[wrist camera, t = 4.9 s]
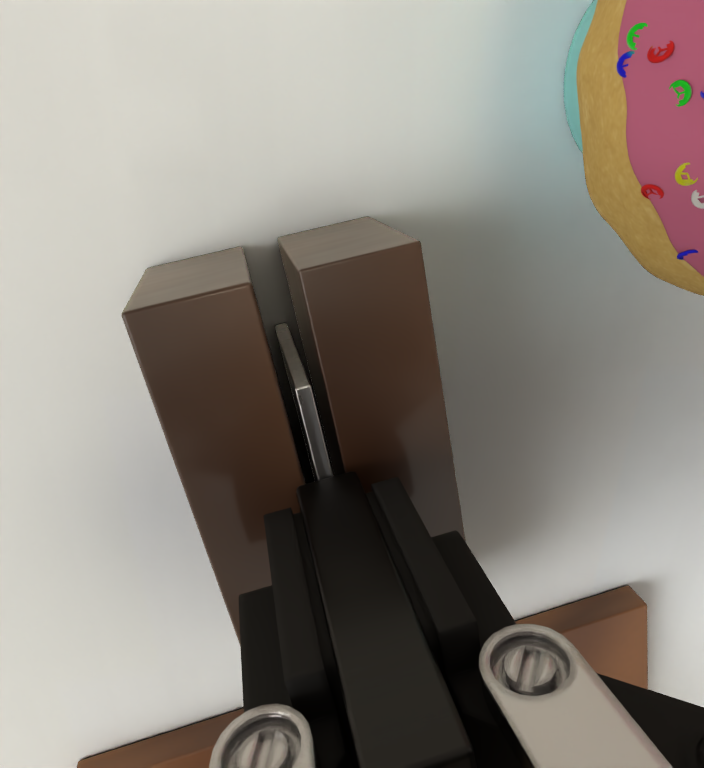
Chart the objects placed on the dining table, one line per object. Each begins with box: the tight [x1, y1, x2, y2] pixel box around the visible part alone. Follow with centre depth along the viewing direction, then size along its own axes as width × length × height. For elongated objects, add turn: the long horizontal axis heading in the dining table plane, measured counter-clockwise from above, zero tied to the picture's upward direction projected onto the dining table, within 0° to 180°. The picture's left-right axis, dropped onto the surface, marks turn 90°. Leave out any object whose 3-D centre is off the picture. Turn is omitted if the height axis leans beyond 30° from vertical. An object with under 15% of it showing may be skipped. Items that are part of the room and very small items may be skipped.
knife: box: [275, 323, 477, 768], centre depth 12 cm, size 1×7×10 cm, turn 11°
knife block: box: [122, 217, 466, 646], centre depth 14 cm, size 5×11×4 cm, turn 11°
